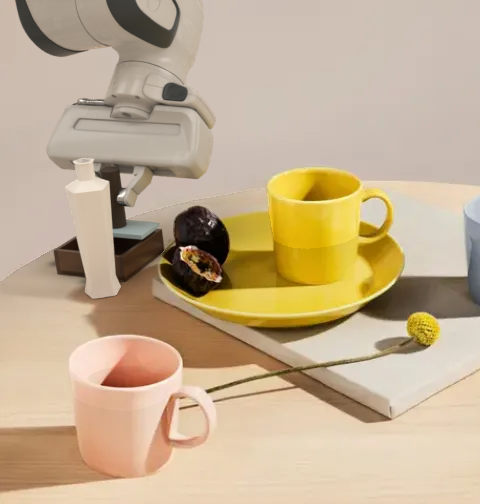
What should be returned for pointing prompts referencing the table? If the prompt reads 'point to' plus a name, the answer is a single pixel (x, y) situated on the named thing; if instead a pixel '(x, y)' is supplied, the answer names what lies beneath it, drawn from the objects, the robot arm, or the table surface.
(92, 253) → the white faceted vase
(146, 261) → the dark brown square tray
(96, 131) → the robot arm
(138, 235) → the dark cylinder on slab
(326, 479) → the table surface
